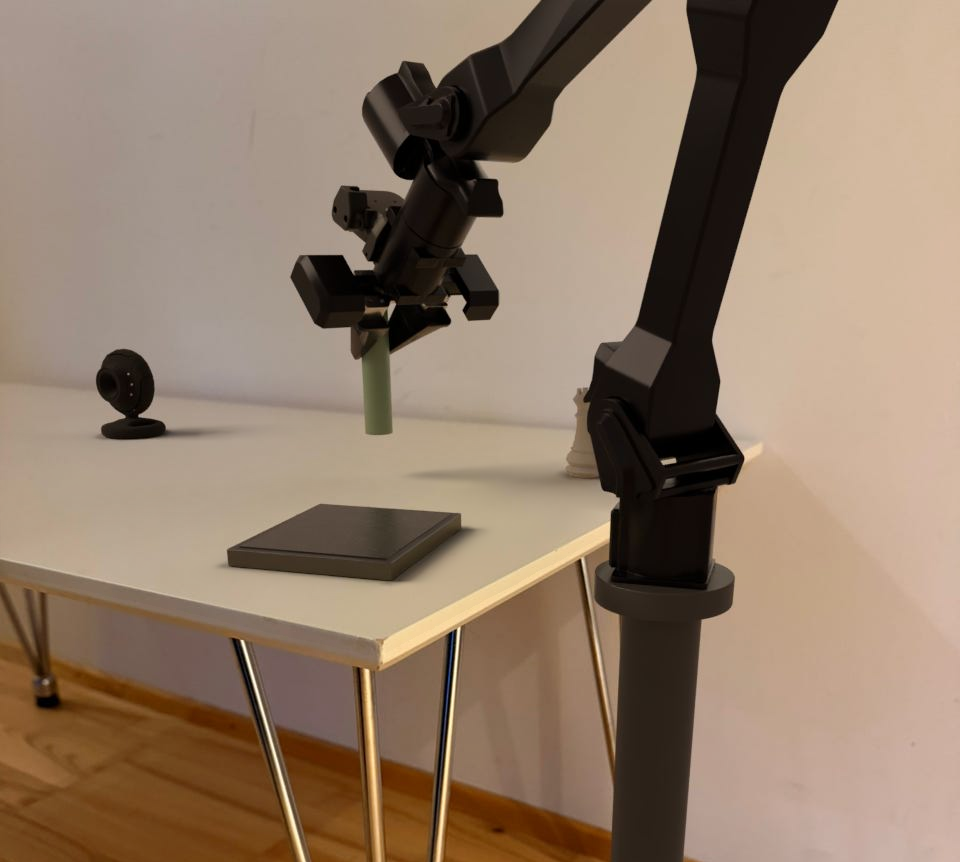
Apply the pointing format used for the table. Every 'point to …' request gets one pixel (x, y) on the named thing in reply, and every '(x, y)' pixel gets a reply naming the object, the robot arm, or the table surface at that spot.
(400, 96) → the robot arm
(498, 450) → the table surface
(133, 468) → the table surface
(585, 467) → the rook chess piece
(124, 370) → the webcam
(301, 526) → the plate
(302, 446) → the table surface
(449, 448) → the table surface
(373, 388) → the green cylinder
